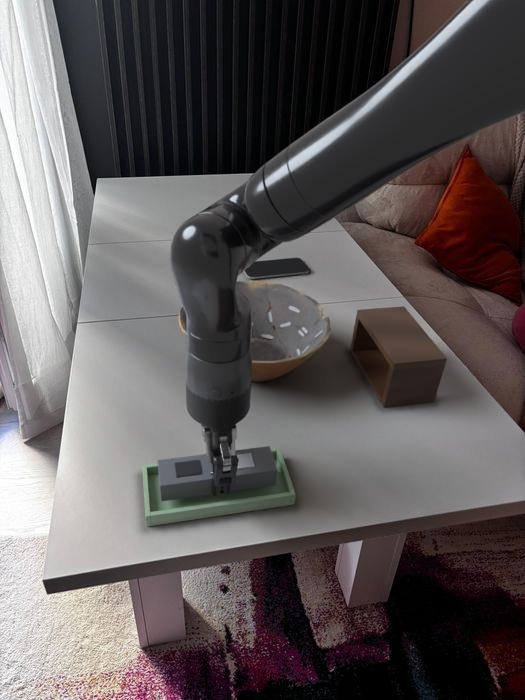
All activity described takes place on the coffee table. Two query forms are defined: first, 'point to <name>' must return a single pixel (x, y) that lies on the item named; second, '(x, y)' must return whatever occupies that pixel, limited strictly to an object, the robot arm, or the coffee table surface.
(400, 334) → the brown wooden open box
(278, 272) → the smartphone
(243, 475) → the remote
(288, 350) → the bowl
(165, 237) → the coffee table surface
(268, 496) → the tray
